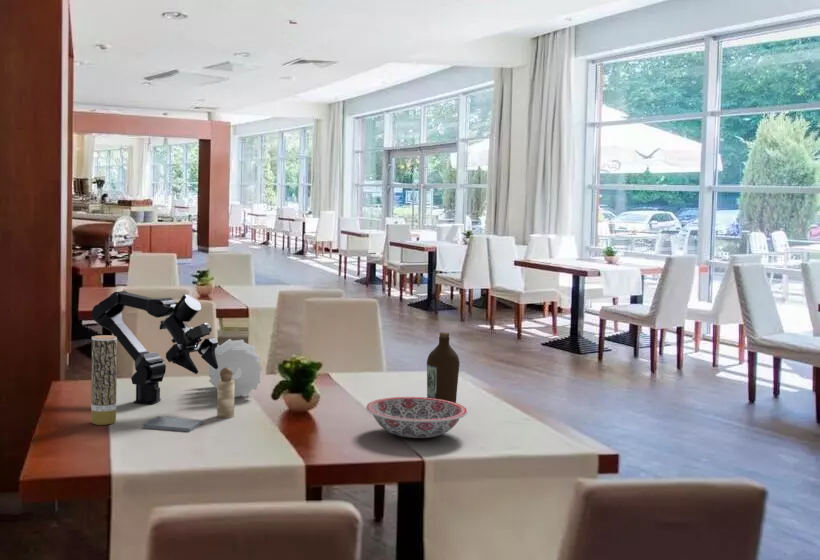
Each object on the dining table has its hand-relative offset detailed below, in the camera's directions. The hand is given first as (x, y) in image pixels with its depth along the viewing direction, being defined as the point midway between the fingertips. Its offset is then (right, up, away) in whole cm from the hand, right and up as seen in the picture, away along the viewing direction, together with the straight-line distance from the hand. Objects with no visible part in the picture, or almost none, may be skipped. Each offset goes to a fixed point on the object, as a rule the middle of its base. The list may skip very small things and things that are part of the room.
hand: (207, 370), depth 272 cm
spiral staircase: (+2, -11, +31) cm, 33 cm away
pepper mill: (+6, -14, -2) cm, 15 cm away
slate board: (-6, -14, -15) cm, 22 cm away
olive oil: (+72, -14, +19) cm, 76 cm away
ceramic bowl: (+64, -17, -15) cm, 68 cm away
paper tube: (-26, -14, -15) cm, 33 cm away
